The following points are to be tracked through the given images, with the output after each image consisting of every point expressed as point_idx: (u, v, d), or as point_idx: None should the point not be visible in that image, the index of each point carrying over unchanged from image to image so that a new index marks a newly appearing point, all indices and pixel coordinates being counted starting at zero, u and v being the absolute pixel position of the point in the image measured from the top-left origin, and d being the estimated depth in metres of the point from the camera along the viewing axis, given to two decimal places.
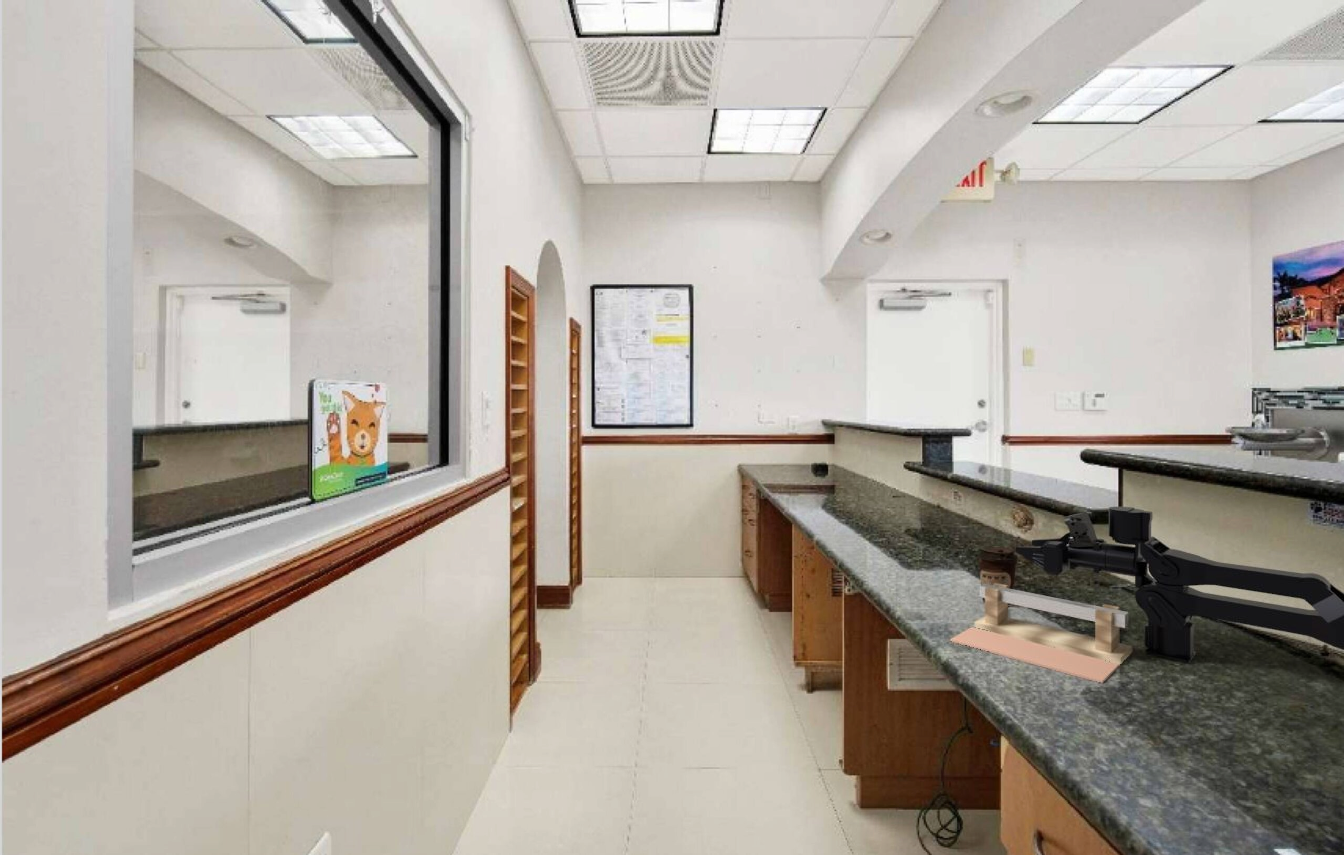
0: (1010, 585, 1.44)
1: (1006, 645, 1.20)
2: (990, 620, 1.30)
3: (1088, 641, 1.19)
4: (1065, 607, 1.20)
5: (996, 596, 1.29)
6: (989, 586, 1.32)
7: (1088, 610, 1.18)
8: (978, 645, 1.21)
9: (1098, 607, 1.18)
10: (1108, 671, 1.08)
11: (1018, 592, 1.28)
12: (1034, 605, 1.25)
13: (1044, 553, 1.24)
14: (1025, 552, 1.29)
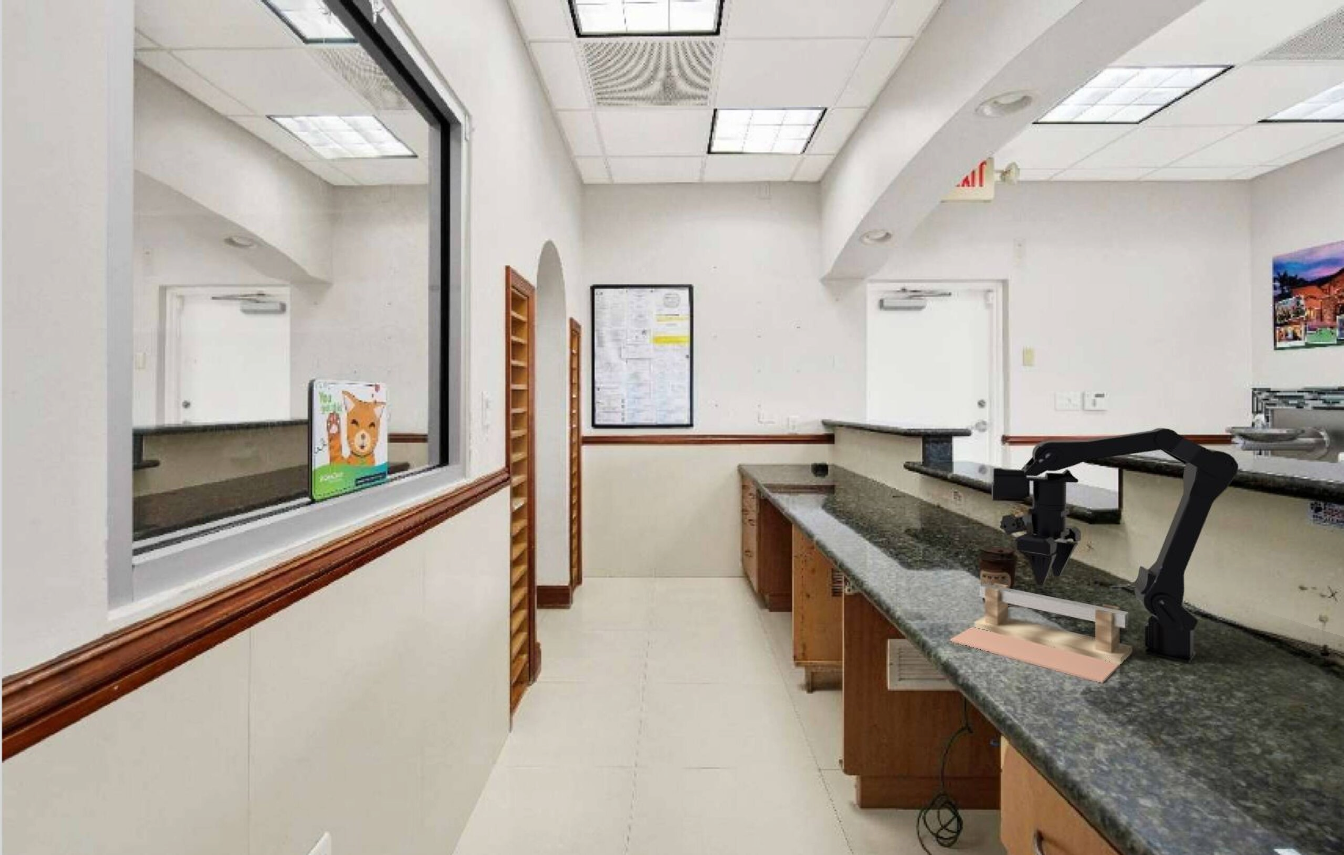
0: (1010, 585, 1.44)
1: (1006, 645, 1.20)
2: (990, 620, 1.30)
3: (1088, 641, 1.19)
4: (1065, 607, 1.20)
5: (996, 596, 1.29)
6: (989, 586, 1.32)
7: (1088, 610, 1.18)
8: (978, 645, 1.21)
9: (1098, 607, 1.18)
10: (1108, 671, 1.08)
11: (1018, 592, 1.28)
12: (1034, 605, 1.25)
13: (1029, 553, 1.19)
14: (1040, 574, 1.20)
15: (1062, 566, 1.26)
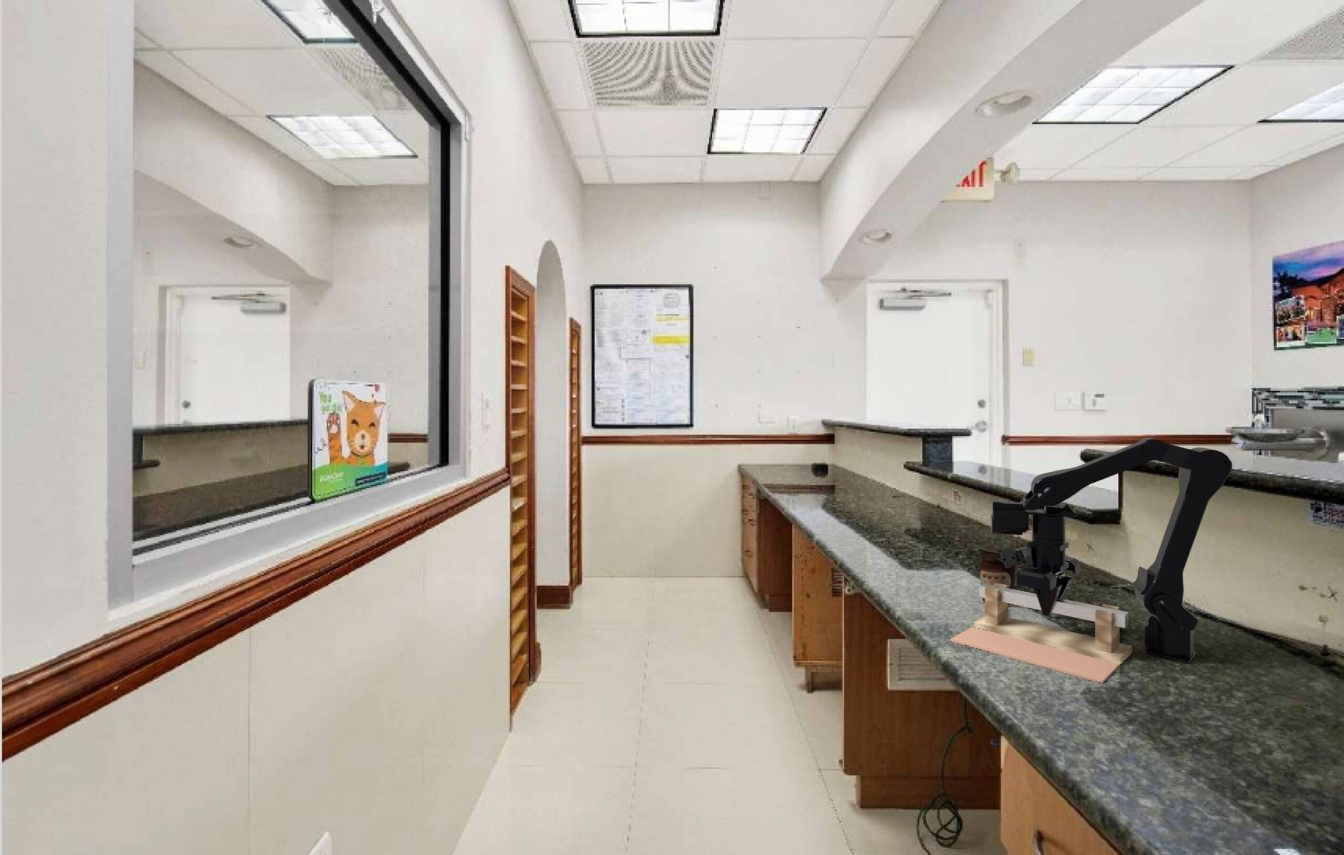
0: (1010, 585, 1.44)
1: (1006, 645, 1.20)
2: (990, 620, 1.30)
3: (1088, 641, 1.19)
4: (1065, 607, 1.20)
5: (996, 596, 1.29)
6: (989, 586, 1.32)
7: (1088, 610, 1.18)
8: (978, 645, 1.21)
9: (1098, 607, 1.18)
10: (1108, 671, 1.08)
11: (1018, 592, 1.28)
12: (1034, 605, 1.25)
13: None
14: (1046, 605, 1.22)
15: None
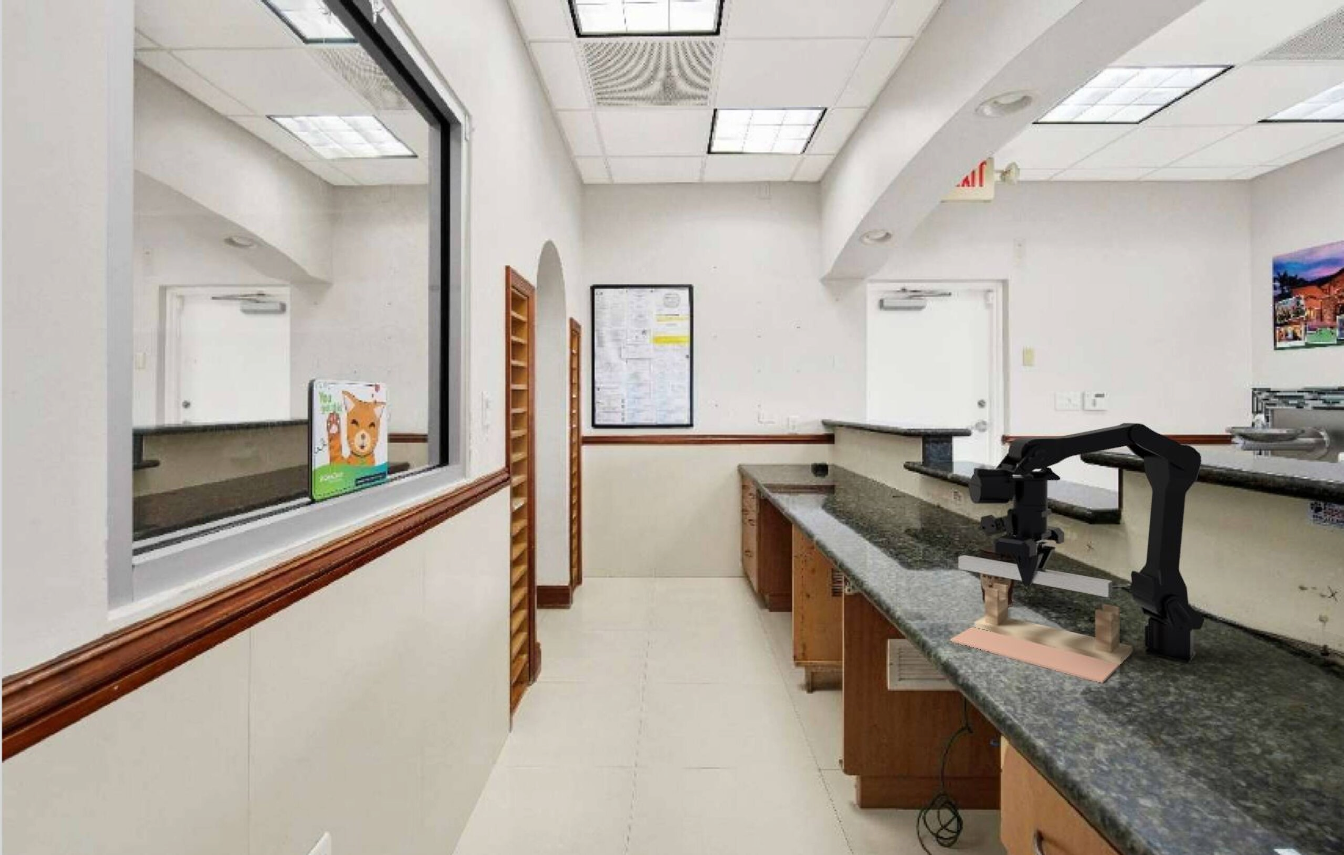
0: (1010, 585, 1.44)
1: (1006, 645, 1.20)
2: (990, 620, 1.30)
3: (1088, 641, 1.19)
4: (1046, 577, 1.14)
5: (996, 596, 1.29)
6: (968, 557, 1.26)
7: (1070, 579, 1.11)
8: (978, 645, 1.21)
9: (1081, 576, 1.11)
10: (1108, 671, 1.08)
11: (998, 562, 1.21)
12: (1014, 575, 1.18)
13: None
14: (1026, 575, 1.16)
15: None
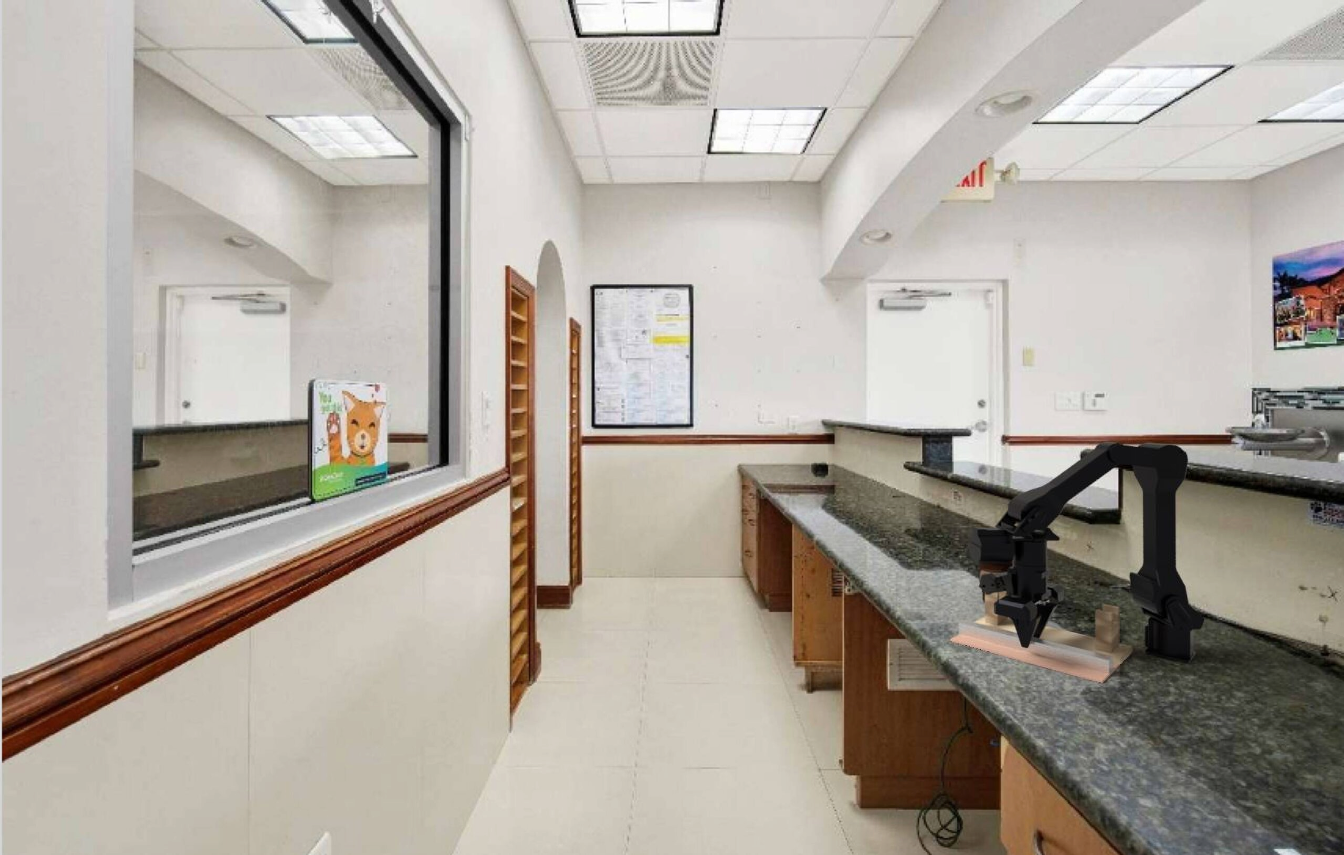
0: None
1: None
2: (990, 620, 1.30)
3: (1088, 641, 1.19)
4: (1047, 649, 1.14)
5: (996, 596, 1.29)
6: (969, 623, 1.26)
7: (1071, 653, 1.11)
8: (978, 645, 1.21)
9: (1081, 650, 1.11)
10: None
11: (998, 631, 1.22)
12: (1015, 645, 1.19)
13: None
14: (1024, 637, 1.15)
15: (1041, 630, 1.18)
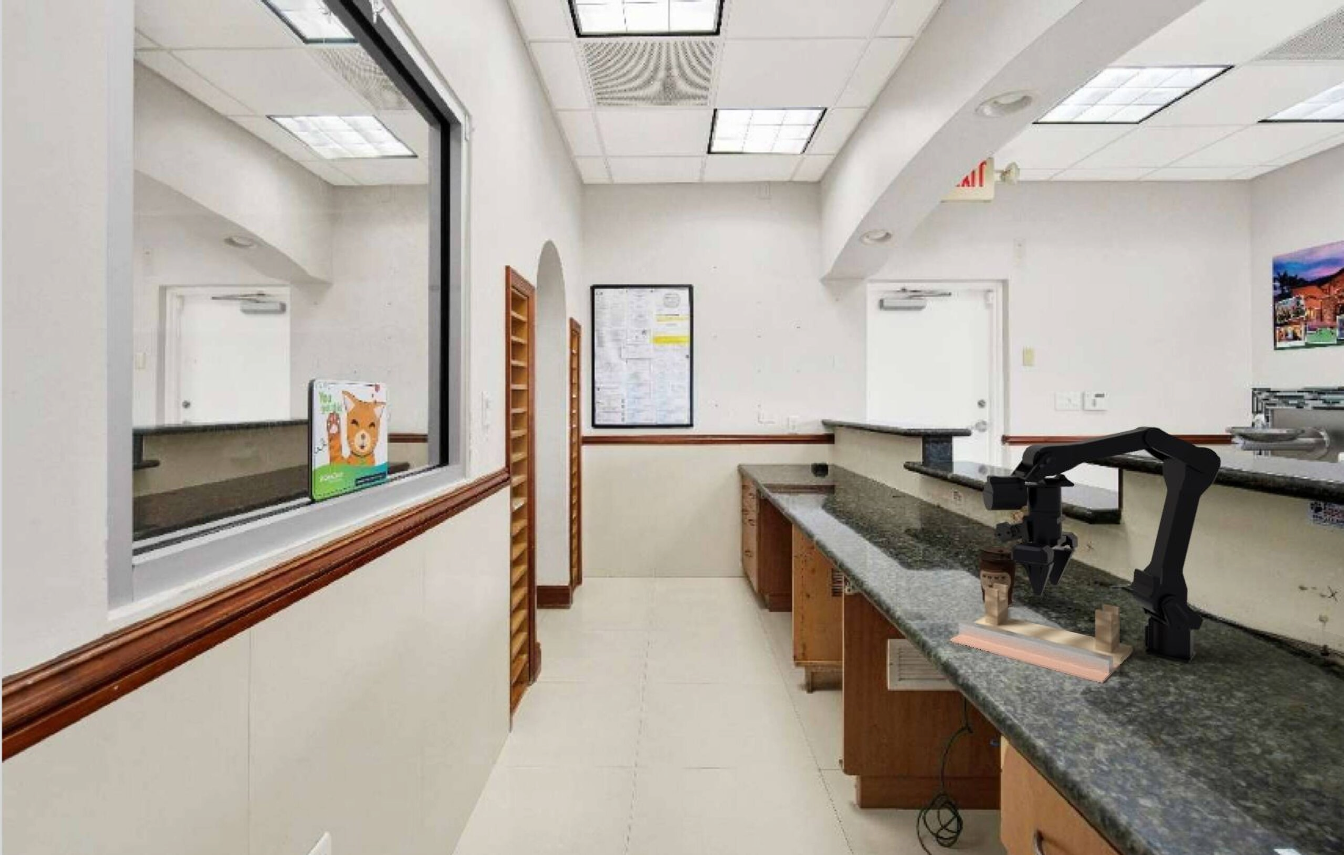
0: (1010, 585, 1.44)
1: None
2: (990, 620, 1.30)
3: (1088, 641, 1.19)
4: (1047, 649, 1.14)
5: (996, 596, 1.29)
6: (969, 623, 1.26)
7: (1071, 653, 1.11)
8: (978, 645, 1.21)
9: (1081, 650, 1.11)
10: None
11: (998, 631, 1.22)
12: (1015, 645, 1.19)
13: (1025, 563, 1.14)
14: (1037, 584, 1.15)
15: (1060, 574, 1.21)
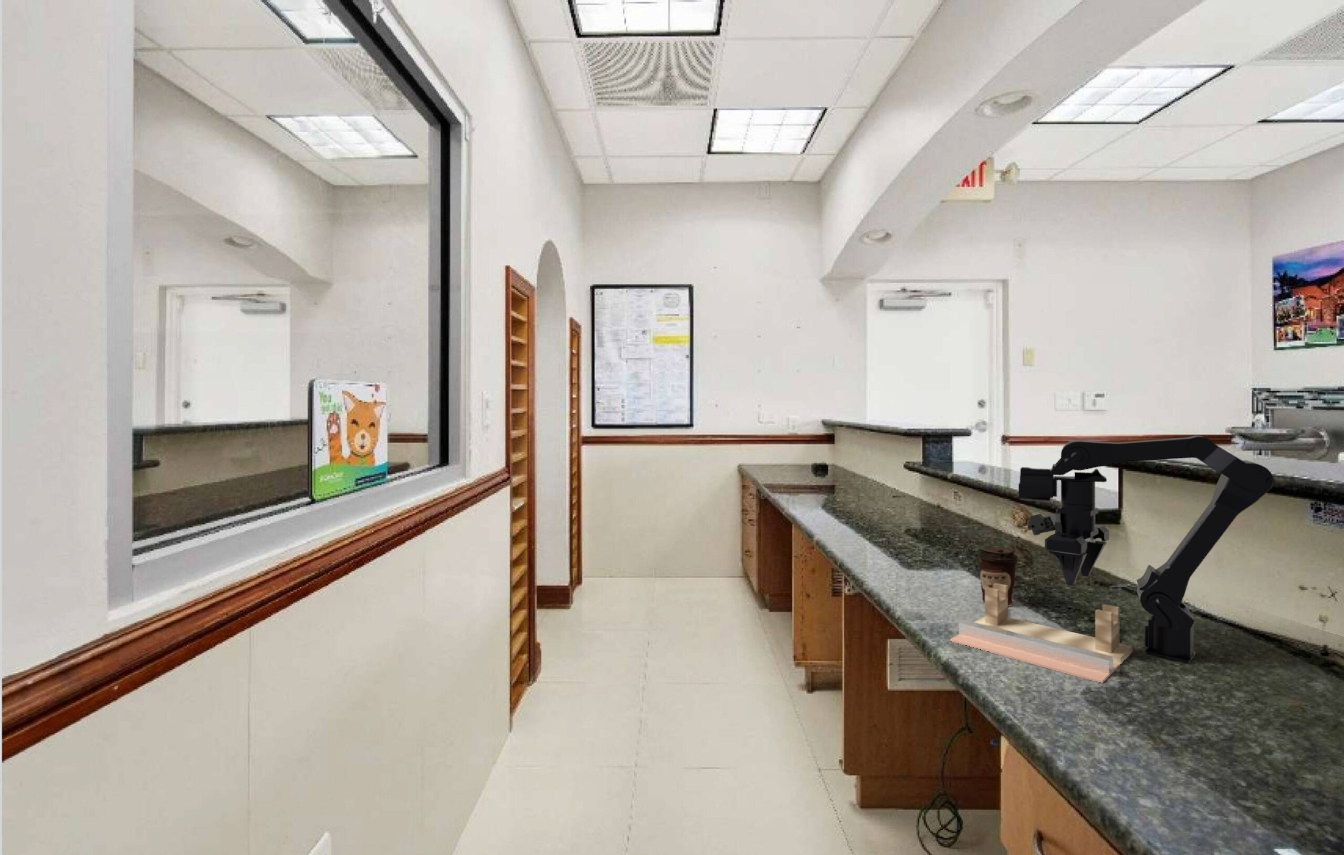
0: (1010, 585, 1.44)
1: None
2: (990, 620, 1.30)
3: (1088, 641, 1.19)
4: (1047, 649, 1.14)
5: (996, 596, 1.29)
6: (969, 623, 1.26)
7: (1071, 653, 1.11)
8: (978, 645, 1.21)
9: (1081, 650, 1.11)
10: None
11: (998, 631, 1.22)
12: (1015, 645, 1.19)
13: (1059, 553, 1.18)
14: (1070, 574, 1.20)
15: (1091, 566, 1.25)
